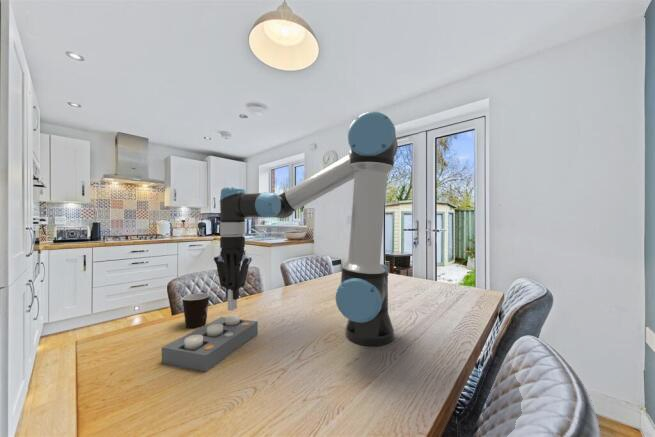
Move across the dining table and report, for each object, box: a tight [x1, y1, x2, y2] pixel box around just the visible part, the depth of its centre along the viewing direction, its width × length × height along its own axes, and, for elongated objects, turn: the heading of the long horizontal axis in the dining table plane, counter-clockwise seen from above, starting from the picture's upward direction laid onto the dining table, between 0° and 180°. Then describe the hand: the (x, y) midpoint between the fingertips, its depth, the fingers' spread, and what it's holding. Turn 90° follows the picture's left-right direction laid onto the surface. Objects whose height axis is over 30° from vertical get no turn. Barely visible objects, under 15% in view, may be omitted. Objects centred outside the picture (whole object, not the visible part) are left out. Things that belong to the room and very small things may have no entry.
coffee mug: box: [181, 292, 210, 330], centre depth 96 cm, size 12×9×10 cm
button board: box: [161, 316, 259, 372], centre depth 78 cm, size 14×23×4 cm, turn 163°
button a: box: [225, 314, 241, 326], centre depth 86 cm, size 4×4×2 cm
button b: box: [207, 324, 223, 337], centre depth 78 cm, size 4×4×2 cm
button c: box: [184, 335, 203, 350], centre depth 71 cm, size 4×4×2 cm
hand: (232, 309), depth 86 cm, fingers closed
